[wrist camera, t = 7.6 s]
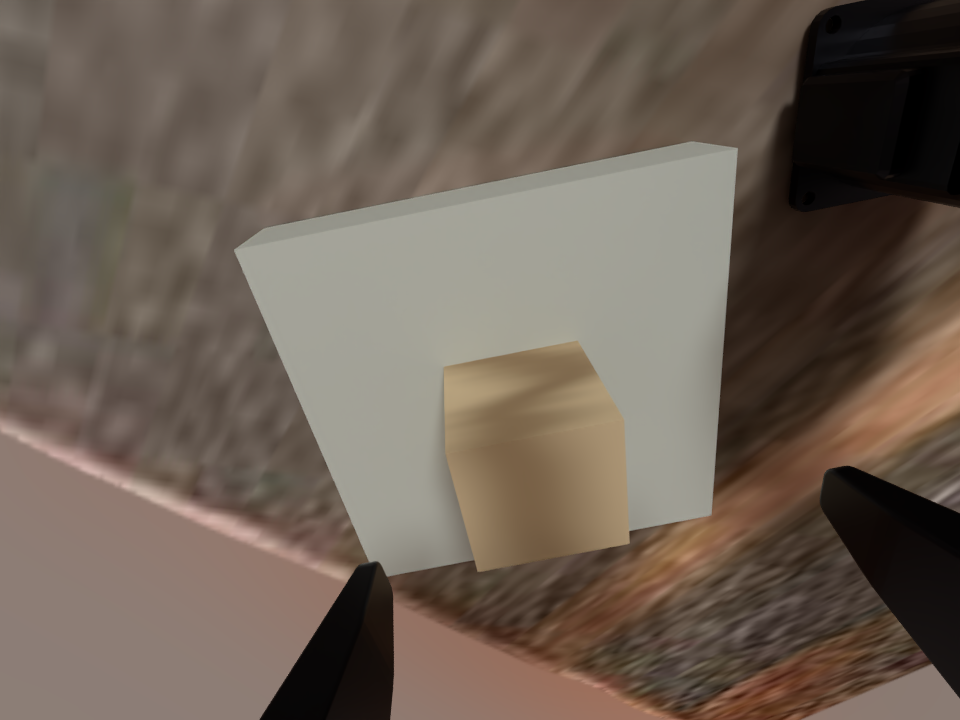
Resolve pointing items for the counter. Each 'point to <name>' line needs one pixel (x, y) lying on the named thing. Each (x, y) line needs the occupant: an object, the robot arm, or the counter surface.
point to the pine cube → (535, 456)
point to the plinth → (506, 327)
